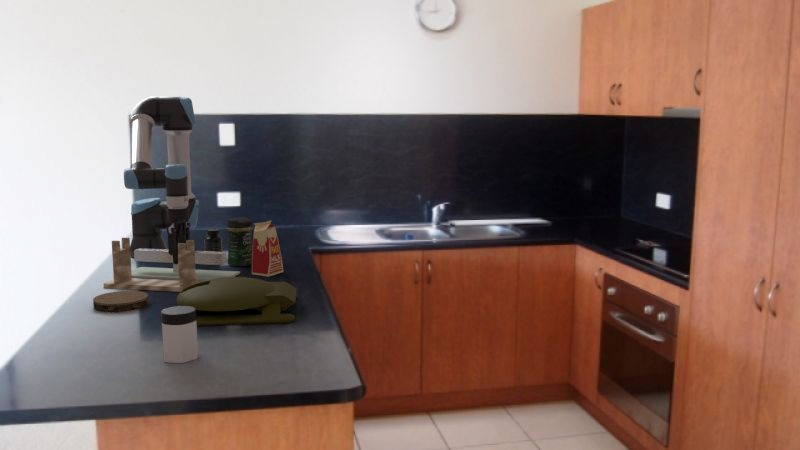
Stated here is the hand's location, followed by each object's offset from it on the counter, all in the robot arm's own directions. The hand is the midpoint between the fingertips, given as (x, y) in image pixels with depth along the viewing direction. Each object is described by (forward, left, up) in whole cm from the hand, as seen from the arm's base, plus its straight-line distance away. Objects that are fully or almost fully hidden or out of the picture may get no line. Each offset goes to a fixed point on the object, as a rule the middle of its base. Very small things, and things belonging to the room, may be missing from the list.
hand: (180, 271), depth 267 cm
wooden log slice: (+2, -42, -2) cm, 42 cm away
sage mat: (0, 0, -2) cm, 2 cm away
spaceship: (+40, -41, -2) cm, 57 cm away
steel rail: (0, 0, +3) cm, 3 cm away
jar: (+43, -83, -2) cm, 94 cm away
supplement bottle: (-1, +30, -2) cm, 30 cm away
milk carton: (+29, +10, -2) cm, 31 cm away
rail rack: (0, -18, -2) cm, 18 cm away
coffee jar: (+14, +22, -2) cm, 26 cm away
